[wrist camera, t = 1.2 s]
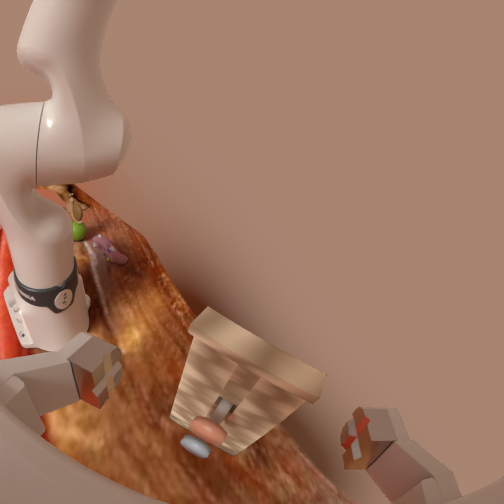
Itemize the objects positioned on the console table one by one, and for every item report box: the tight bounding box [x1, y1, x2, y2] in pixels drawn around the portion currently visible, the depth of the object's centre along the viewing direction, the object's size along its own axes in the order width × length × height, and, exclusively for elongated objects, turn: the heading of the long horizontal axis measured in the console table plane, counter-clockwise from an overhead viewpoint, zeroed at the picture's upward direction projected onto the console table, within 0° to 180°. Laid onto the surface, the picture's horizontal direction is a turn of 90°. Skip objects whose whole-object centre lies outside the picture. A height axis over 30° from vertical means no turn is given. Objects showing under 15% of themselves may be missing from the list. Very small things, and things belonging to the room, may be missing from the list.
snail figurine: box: [70, 193, 87, 241], centre depth 58 cm, size 5×6×12 cm
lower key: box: [180, 435, 211, 458], centre depth 31 cm, size 4×9×4 cm, turn 154°
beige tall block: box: [170, 307, 327, 456], centre depth 31 cm, size 13×6×25 cm, turn 64°
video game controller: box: [92, 234, 128, 264], centre depth 59 cm, size 10×5×7 cm, turn 58°
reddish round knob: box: [189, 398, 233, 445], centre depth 27 cm, size 4×9×4 cm, turn 154°
